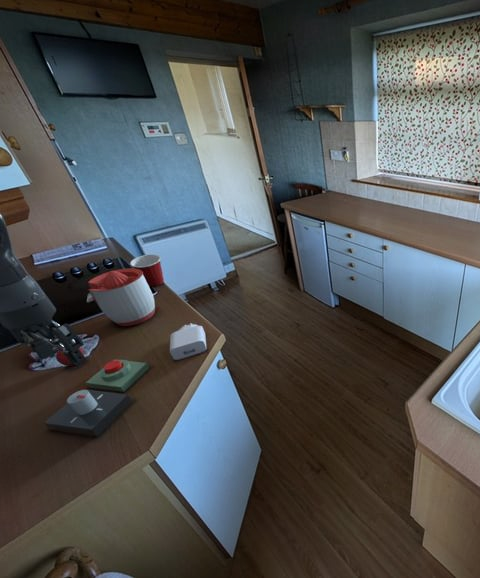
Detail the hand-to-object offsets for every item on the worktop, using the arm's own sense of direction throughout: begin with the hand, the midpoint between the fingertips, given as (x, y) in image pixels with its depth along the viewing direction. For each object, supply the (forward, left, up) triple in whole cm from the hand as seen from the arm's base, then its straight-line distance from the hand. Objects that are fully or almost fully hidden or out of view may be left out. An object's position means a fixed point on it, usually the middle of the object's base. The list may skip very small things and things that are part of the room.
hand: (64, 359), depth 66 cm
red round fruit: (-25, +14, -20) cm, 35 cm away
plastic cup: (-38, +61, -20) cm, 75 cm away
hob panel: (-3, -1, -20) cm, 20 cm away
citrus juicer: (-27, +37, -20) cm, 50 cm away
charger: (+3, +28, -20) cm, 34 cm away
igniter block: (-7, +11, -20) cm, 23 cm away
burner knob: (-3, -1, -17) cm, 17 cm away
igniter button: (-7, +11, -16) cm, 21 cm away
